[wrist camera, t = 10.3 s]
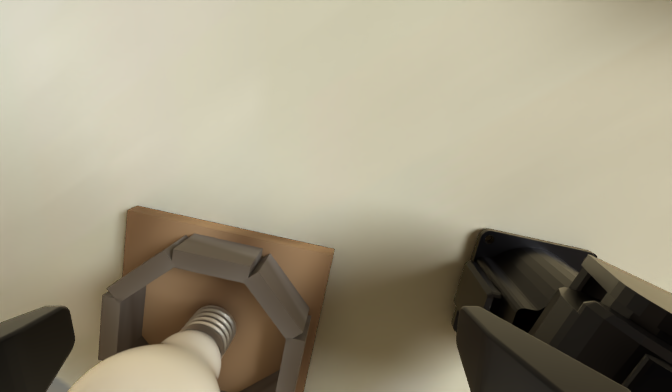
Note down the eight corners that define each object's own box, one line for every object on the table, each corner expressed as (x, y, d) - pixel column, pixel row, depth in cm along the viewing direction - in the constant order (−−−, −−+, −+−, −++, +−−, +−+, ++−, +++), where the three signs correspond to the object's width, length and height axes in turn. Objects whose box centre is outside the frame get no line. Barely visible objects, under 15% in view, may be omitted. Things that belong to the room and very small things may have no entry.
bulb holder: (334, 249, 22) (329, 274, 19) (298, 415, 25) (288, 463, 21) (137, 205, 22) (97, 222, 19) (123, 375, 25) (86, 416, 22)
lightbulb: (190, 372, 24) (42, 594, 13) (151, 283, 22) (-49, 451, 12) (284, 354, 23) (206, 579, 12) (249, 259, 21) (127, 420, 11)
